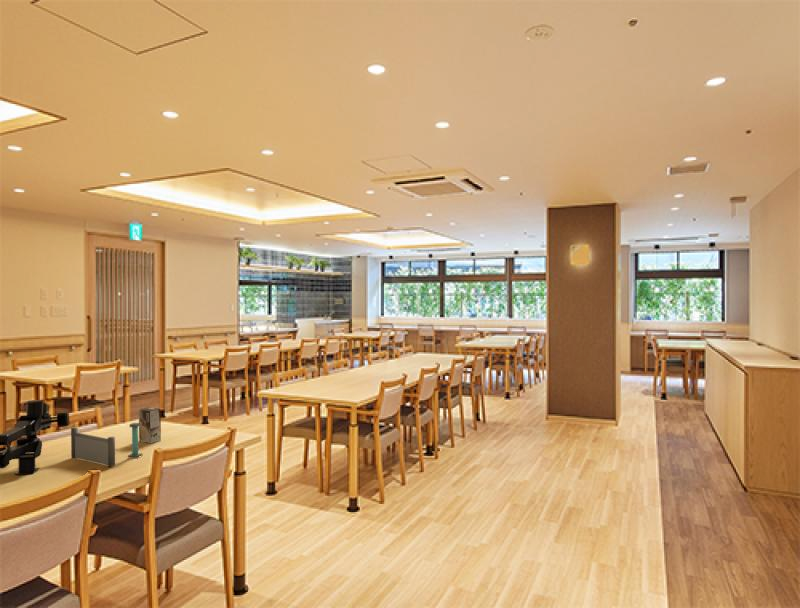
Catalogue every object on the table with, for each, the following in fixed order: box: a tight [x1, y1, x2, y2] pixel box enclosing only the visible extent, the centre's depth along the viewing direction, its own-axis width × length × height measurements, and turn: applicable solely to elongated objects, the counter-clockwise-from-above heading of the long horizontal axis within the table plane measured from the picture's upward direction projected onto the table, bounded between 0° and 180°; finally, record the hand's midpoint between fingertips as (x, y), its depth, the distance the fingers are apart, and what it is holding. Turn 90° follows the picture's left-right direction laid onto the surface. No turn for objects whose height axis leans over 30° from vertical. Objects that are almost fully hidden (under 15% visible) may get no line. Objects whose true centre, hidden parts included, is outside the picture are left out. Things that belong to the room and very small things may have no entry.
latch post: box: [127, 422, 143, 458], centre depth 240 cm, size 5×3×15 cm, turn 87°
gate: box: [70, 426, 116, 467], centre depth 232 cm, size 29×3×13 cm, turn 62°
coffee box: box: [138, 406, 162, 444], centre depth 266 cm, size 9×6×16 cm
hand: (53, 419), depth 243 cm, fingers open, 9 cm apart
